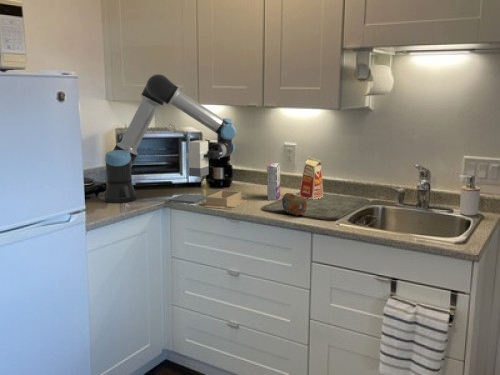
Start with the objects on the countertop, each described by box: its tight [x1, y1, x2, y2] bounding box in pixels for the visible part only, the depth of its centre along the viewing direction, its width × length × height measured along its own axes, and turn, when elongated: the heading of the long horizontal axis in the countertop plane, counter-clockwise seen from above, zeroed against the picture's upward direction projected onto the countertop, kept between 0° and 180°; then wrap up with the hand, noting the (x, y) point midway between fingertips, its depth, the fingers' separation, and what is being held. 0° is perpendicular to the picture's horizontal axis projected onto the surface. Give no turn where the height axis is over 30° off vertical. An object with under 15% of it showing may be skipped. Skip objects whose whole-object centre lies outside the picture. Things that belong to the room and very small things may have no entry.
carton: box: [200, 190, 248, 210], centre depth 240 cm, size 17×23×4 cm
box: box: [188, 140, 210, 178], centre depth 243 cm, size 6×8×16 cm
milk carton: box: [298, 156, 324, 200], centre depth 249 cm, size 9×9×20 cm
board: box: [168, 193, 208, 205], centre depth 248 cm, size 14×14×1 cm
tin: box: [281, 192, 307, 216], centre depth 218 cm, size 15×3×8 cm, turn 29°
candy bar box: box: [266, 162, 281, 201], centre depth 249 cm, size 11×5×16 cm, turn 168°
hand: (193, 156), depth 238 cm, fingers closed on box, 6 cm apart
